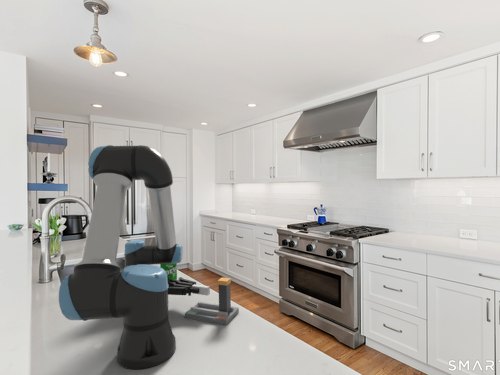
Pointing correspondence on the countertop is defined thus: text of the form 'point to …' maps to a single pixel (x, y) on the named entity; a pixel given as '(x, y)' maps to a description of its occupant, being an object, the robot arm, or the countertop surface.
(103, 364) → the countertop surface
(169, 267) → the soda can
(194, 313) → the grey base
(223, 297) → the breaker handle
